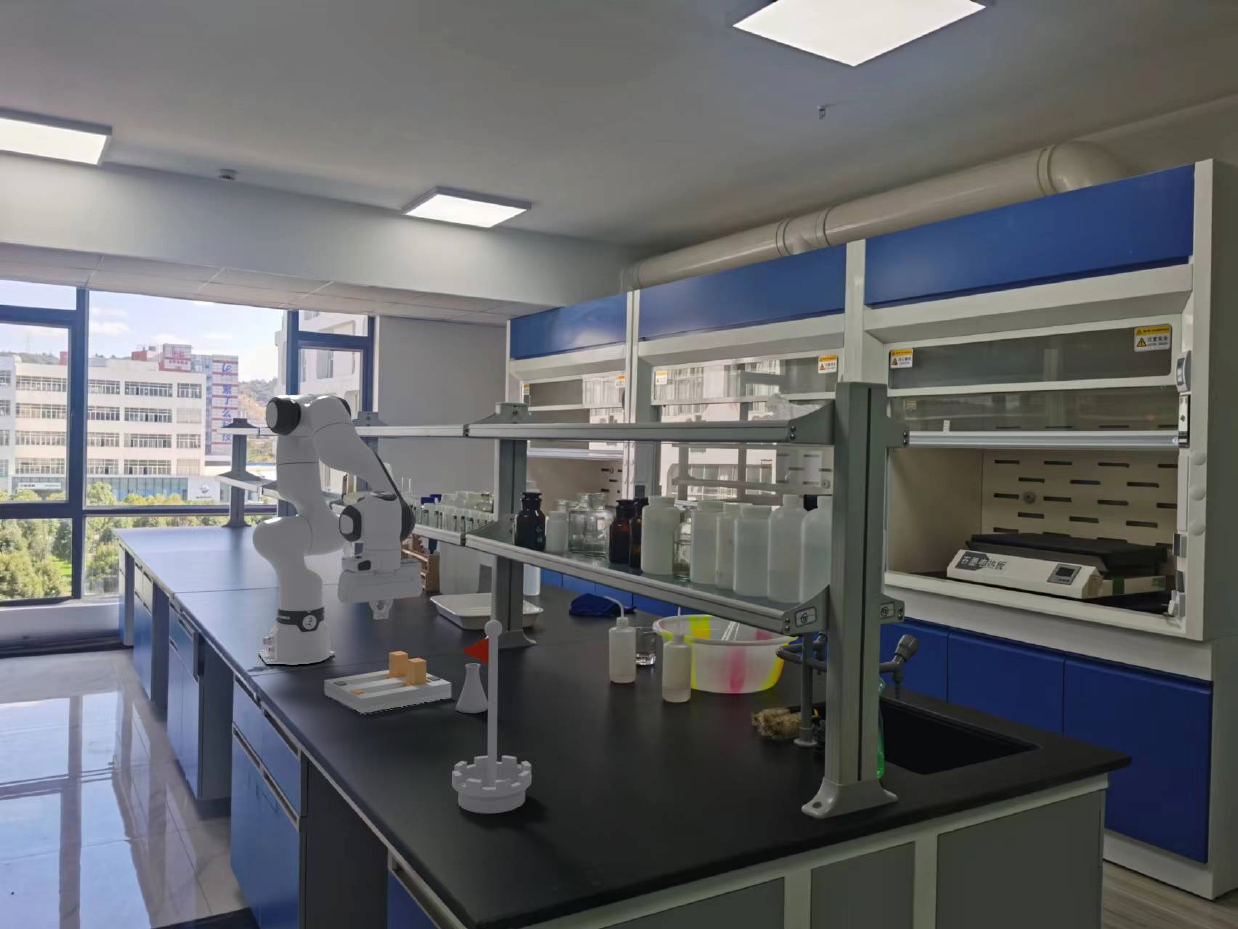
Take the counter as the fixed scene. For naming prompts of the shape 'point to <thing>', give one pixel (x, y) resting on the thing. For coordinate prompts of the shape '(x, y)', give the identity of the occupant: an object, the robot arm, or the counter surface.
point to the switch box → (384, 691)
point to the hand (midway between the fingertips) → (380, 618)
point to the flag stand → (491, 750)
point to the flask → (472, 692)
